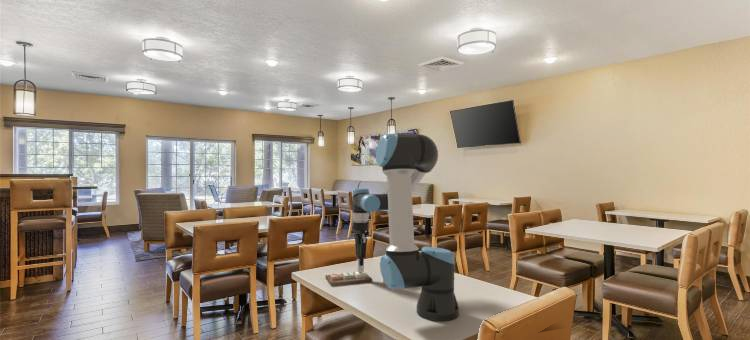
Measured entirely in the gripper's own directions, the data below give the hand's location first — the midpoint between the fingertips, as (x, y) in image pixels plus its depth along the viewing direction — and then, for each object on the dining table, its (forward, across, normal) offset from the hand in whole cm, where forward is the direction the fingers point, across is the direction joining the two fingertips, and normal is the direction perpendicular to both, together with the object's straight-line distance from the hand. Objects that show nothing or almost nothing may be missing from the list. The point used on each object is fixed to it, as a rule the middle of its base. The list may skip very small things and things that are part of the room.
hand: (360, 271), depth 175 cm
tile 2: (+3, 0, +6) cm, 7 cm away
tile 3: (+3, 0, +12) cm, 12 cm away
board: (+3, 0, +6) cm, 7 cm away
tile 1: (+3, 0, 0) cm, 3 cm away
